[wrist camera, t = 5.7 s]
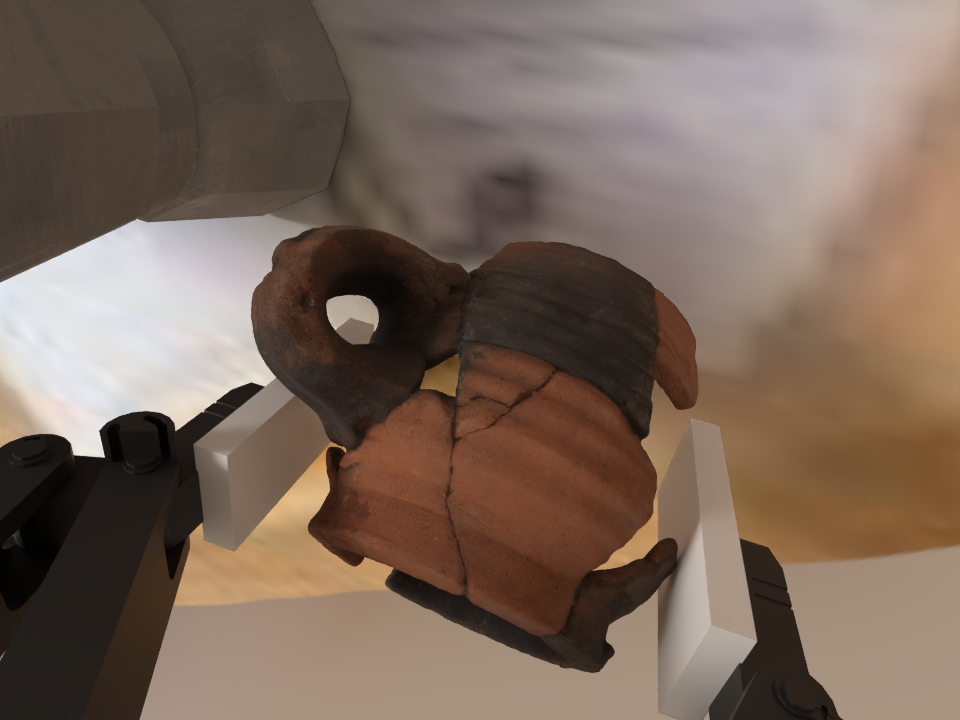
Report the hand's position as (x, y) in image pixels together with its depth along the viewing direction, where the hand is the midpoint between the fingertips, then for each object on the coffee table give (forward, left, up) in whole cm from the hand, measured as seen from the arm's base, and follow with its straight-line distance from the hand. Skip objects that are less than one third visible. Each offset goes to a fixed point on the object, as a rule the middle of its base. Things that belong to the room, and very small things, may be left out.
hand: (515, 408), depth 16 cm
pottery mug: (-1, +1, -1) cm, 1 cm away
